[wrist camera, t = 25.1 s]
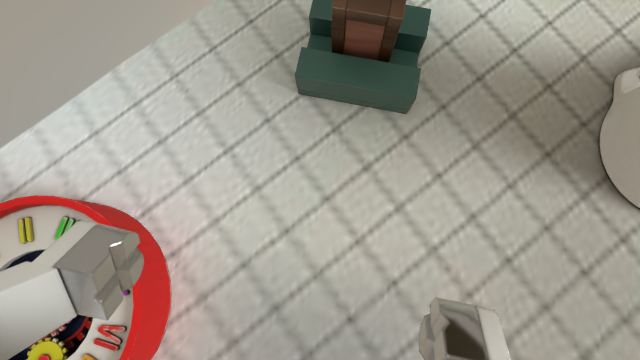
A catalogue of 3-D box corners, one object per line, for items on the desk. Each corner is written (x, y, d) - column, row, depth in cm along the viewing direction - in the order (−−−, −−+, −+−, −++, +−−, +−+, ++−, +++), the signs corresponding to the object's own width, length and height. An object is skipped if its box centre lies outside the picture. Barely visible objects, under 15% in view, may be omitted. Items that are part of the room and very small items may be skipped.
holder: (406, 114, 39) (415, 98, 35) (298, 93, 40) (294, 76, 36) (421, 33, 41) (431, 8, 37) (316, 14, 42) (315, -11, 38)
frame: (386, 71, 39) (402, 19, 30) (331, 61, 39) (331, 7, 31) (389, 54, 39) (406, -2, 31) (335, 44, 40) (336, -14, 31)
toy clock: (85, 479, 28) (-135, 397, 30) (126, 440, 34) (-60, 373, 36) (175, 231, 32) (-27, 169, 33) (199, 234, 38) (25, 180, 39)
